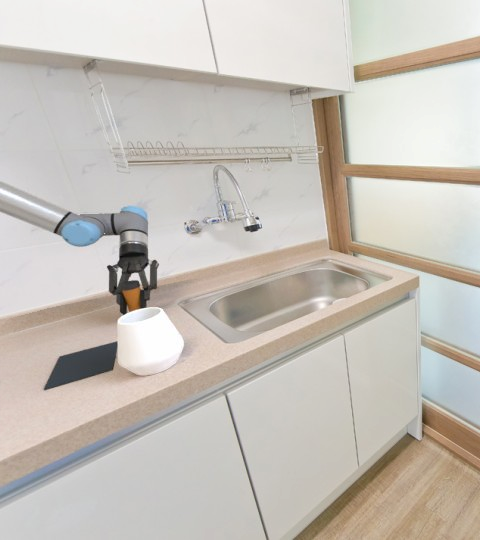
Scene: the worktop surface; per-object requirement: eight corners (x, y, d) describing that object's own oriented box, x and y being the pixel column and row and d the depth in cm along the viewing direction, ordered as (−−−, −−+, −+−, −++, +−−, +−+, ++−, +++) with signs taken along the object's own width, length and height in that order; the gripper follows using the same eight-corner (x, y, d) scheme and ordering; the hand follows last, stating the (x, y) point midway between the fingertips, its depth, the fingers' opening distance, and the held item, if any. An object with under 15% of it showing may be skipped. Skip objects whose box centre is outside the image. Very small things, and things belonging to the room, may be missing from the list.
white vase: (109, 375, 79) (89, 324, 74) (163, 345, 91) (148, 300, 86) (149, 386, 75) (130, 333, 70) (200, 353, 87) (187, 306, 82)
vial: (131, 315, 107) (120, 282, 103) (149, 311, 110) (139, 279, 106) (130, 320, 103) (118, 287, 99) (149, 316, 106) (138, 283, 102)
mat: (60, 357, 87) (59, 356, 87) (118, 342, 93) (117, 341, 93) (44, 390, 75) (43, 388, 75) (112, 370, 81) (112, 368, 81)
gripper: (168, 250, 117) (170, 310, 109) (107, 256, 111) (104, 321, 102) (160, 238, 111) (162, 301, 102) (95, 245, 104) (91, 313, 96)
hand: (133, 311), depth 102 cm, fingers closed on vial, 4 cm apart
